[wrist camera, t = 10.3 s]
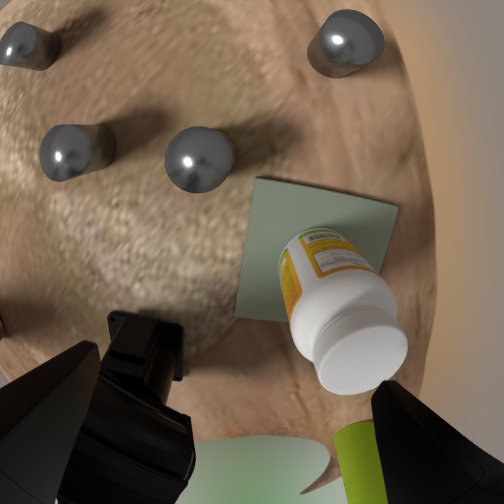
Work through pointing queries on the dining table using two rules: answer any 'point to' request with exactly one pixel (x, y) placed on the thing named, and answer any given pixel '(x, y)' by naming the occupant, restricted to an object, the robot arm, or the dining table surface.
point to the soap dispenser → (360, 464)
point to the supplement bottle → (340, 312)
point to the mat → (294, 222)
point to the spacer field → (192, 139)
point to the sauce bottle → (1, 330)
